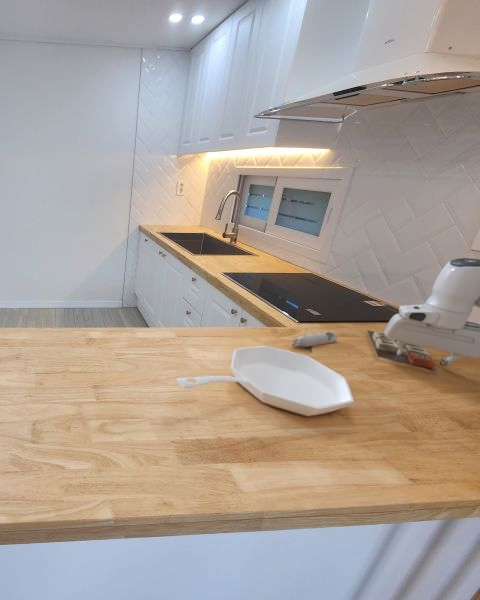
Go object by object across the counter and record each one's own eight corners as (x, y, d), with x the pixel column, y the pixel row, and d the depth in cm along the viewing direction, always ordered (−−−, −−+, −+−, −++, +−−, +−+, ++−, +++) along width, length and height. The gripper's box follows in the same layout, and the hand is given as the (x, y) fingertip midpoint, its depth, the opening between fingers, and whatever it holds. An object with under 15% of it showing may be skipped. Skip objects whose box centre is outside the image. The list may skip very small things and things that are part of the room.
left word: (389, 340, 111) (392, 335, 110) (396, 353, 103) (399, 347, 102) (372, 336, 113) (374, 331, 112) (377, 348, 105) (380, 342, 104)
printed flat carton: (413, 340, 112) (415, 334, 111) (426, 360, 99) (430, 354, 99) (395, 336, 114) (398, 331, 113) (406, 355, 101) (409, 349, 101)
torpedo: (324, 338, 112) (331, 320, 109) (339, 345, 108) (346, 326, 105) (284, 344, 106) (290, 326, 104) (298, 352, 102) (304, 333, 99)
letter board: (414, 343, 112) (415, 340, 112) (435, 373, 94) (437, 371, 94) (366, 332, 118) (366, 330, 118) (377, 358, 100) (378, 356, 100)
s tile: (427, 362, 99) (430, 355, 98) (432, 368, 95) (435, 362, 94) (407, 357, 101) (410, 351, 100) (411, 363, 97) (414, 357, 96)
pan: (371, 412, 77) (382, 389, 75) (211, 447, 64) (218, 421, 62) (280, 355, 100) (286, 336, 97) (149, 373, 87) (152, 352, 85)
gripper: (492, 322, 90) (467, 367, 95) (393, 304, 100) (375, 345, 105) (503, 331, 85) (476, 377, 90) (398, 311, 95) (379, 353, 100)
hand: (421, 360), depth 97 cm, fingers open, 8 cm apart
